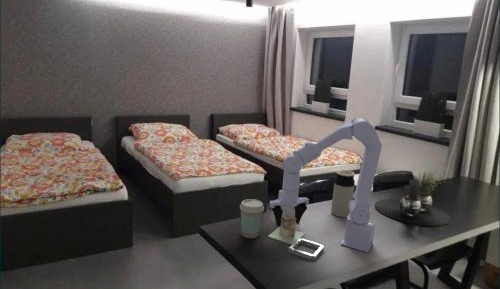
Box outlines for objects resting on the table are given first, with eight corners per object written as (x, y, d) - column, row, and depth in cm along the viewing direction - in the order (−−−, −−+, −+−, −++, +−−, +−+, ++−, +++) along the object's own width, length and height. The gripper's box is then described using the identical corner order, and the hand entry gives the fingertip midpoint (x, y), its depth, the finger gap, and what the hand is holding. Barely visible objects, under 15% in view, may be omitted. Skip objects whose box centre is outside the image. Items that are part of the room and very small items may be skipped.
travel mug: (354, 216, 156) (359, 174, 151) (338, 218, 153) (343, 176, 148) (343, 209, 163) (347, 169, 159) (327, 210, 160) (331, 170, 156)
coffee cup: (256, 228, 140) (258, 197, 137) (266, 238, 132) (268, 206, 130) (235, 230, 137) (236, 199, 134) (243, 241, 129) (245, 208, 127)
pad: (304, 234, 137) (305, 233, 137) (293, 245, 129) (293, 244, 129) (280, 227, 142) (280, 226, 142) (267, 237, 134) (267, 236, 133)
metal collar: (324, 249, 127) (324, 245, 127) (314, 261, 119) (314, 256, 119) (299, 241, 132) (299, 237, 131) (287, 252, 124) (288, 248, 123)
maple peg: (289, 231, 138) (290, 213, 136) (294, 236, 134) (296, 218, 132) (279, 233, 136) (280, 215, 135) (284, 238, 132) (285, 219, 131)
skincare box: (282, 223, 145) (285, 194, 142) (275, 219, 148) (278, 190, 146) (295, 220, 148) (297, 191, 145) (288, 216, 152) (290, 188, 149)
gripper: (276, 194, 125) (274, 231, 128) (314, 190, 130) (311, 226, 133) (268, 186, 131) (265, 223, 134) (304, 183, 137) (301, 218, 140)
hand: (287, 224), depth 134 cm, fingers open, 7 cm apart
